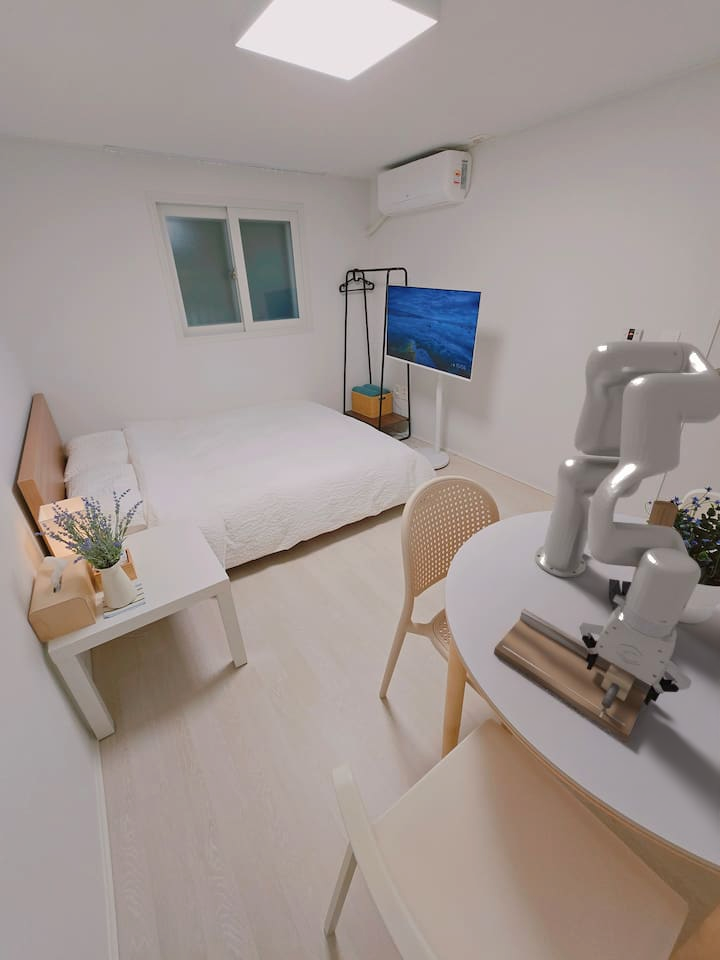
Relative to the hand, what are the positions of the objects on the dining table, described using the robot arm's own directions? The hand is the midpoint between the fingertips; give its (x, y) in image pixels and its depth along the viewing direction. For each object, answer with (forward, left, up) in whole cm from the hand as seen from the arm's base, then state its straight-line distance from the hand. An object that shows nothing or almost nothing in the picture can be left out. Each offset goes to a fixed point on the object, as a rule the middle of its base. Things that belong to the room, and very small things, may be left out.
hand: (618, 681), depth 75 cm
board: (+2, -8, -3) cm, 9 cm away
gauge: (+2, 0, -1) cm, 3 cm away
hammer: (-21, -3, -4) cm, 21 cm away
